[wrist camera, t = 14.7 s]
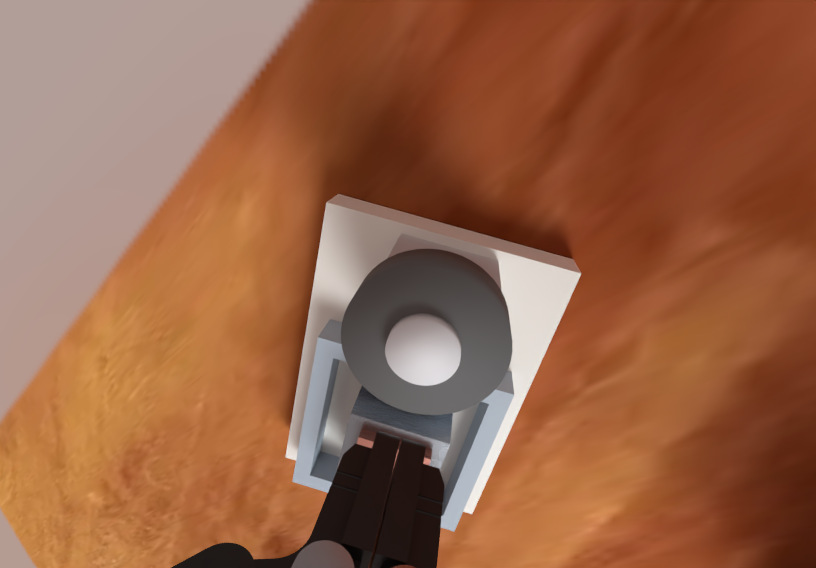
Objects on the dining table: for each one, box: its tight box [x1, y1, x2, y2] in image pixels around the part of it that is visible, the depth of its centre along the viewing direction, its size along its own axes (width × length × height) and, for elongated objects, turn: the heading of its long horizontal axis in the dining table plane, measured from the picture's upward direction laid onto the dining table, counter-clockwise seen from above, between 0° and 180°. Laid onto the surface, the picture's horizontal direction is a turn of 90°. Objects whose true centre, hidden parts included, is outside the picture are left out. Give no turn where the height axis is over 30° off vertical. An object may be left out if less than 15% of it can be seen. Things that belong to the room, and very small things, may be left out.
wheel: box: [341, 249, 512, 415], centre depth 20 cm, size 7×7×6 cm
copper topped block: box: [336, 386, 453, 472], centre depth 24 cm, size 5×7×5 cm
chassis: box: [286, 194, 581, 531], centre depth 24 cm, size 13×18×6 cm
